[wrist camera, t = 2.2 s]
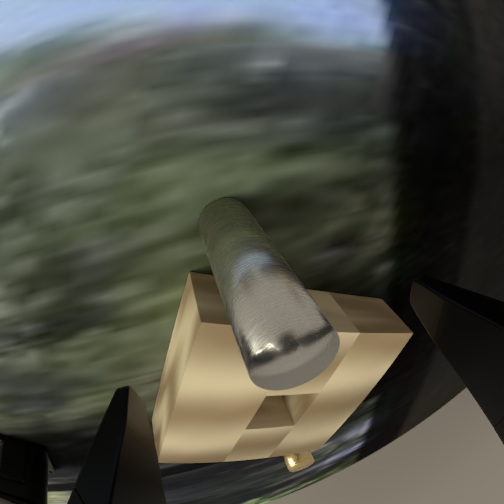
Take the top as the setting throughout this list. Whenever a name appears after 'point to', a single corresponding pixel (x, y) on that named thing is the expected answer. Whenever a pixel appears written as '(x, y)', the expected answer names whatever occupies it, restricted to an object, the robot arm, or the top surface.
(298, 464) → the short brass pin
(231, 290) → the long steel pin
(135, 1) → the top surface
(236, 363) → the birch hole block
